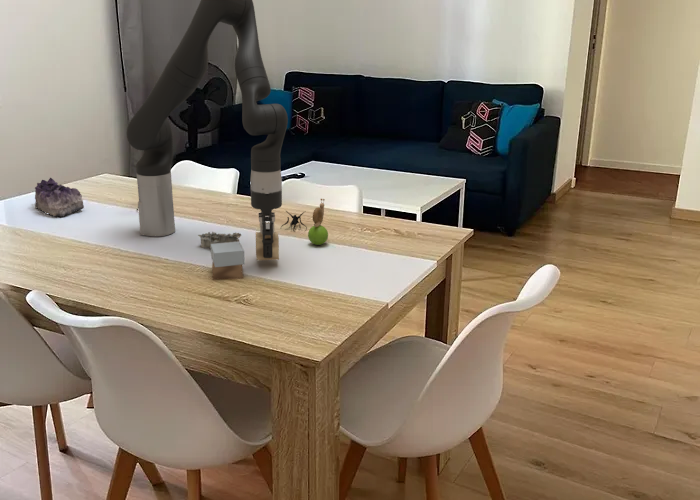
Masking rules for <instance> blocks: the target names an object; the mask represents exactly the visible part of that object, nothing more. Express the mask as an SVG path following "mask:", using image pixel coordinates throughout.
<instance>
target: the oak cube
mask: <svg viewBox="0 0 700 500" xmlns="http://www.w3.org/2000/svg"><path fill="white" fill-rule="evenodd" d="M265 238H271V236H270V235H265ZM262 240H263V237H262V234H261V233H260V231H255V257H256V260H255V261H276V260H278V261H279V260H280V243H279V242H280V239H279V232H278V231H274V234H273V240H274V242H273V243H272V258H264V257H263V242H262Z"/></svg>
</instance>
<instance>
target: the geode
mask: <svg viewBox="0 0 700 500" xmlns="http://www.w3.org/2000/svg"><path fill="white" fill-rule="evenodd" d="M58 183H59V182H56V181H55V180H54V178H52V177H49V179H48V180H45V179H42V180H41V181H40V182H37V183H36V186H35V187H34V190H35V191H34V192H35V194H34V199H35V208H36V207H37V208H38V210H39V209H40V211H41V210H42V211H41V212H43V211H44V213H45V212H46V213H49V214H50V216H52V215H53V217H59V218H63V217H65V216H67V215H70V214H72V213H75V212H77V211H81V210H84V208H85V205H84V201H83V200H84V199H83V195H82V193H81V191H79V190H78V189H77V188H76V187H75V188H74V187H72V188H70V186H64V185H62V184H58ZM37 208H36V209H37ZM46 213H45V214H46ZM49 214H48V215H49Z"/></svg>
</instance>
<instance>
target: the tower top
mask: <svg viewBox="0 0 700 500" xmlns="http://www.w3.org/2000/svg"><path fill="white" fill-rule="evenodd" d="M210 257H211V260H212V262H213V263H214V266H215V267H223V266H233V265H242V266H243V265H245V264H246V262H245V250H244V248H243V246H242V244H241V241H239V242H228V243H217V244H211V248H210Z"/></svg>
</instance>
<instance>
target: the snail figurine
mask: <svg viewBox="0 0 700 500" xmlns="http://www.w3.org/2000/svg"><path fill="white" fill-rule="evenodd" d="M322 201H323V202H322ZM320 202H321V203H320V204H319V207H316V208H314V209H313V212H312V221H313V226H311V227H310V228H309V230H308V233H307V238H308V240H309V242H310V243H311V244H312V245H316V246H321V245H324V244H325V243H326V242H327V241H328V238H329V232H328V229H327V228H326V227H325V226H323V225H321V224H322V223H323V220H324V213H325V203H324V202H325V198H320Z"/></svg>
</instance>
